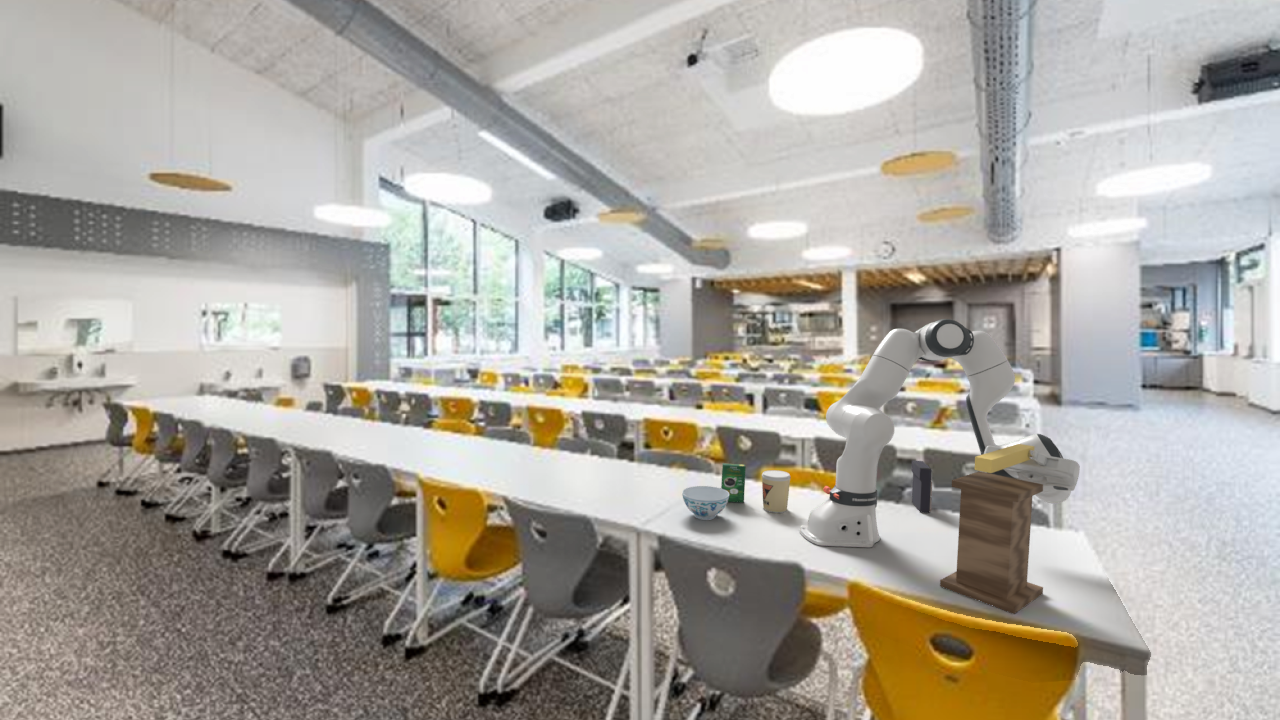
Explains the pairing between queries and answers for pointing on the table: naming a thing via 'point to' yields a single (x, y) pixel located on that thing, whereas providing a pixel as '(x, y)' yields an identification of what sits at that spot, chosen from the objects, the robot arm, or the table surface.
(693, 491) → the chinaware
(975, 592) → the walnut stand
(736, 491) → the coffee box
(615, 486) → the table surface
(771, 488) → the coffee cup
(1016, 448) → the mustard bar
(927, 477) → the dark grey upright block
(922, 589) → the table surface
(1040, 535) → the table surface
